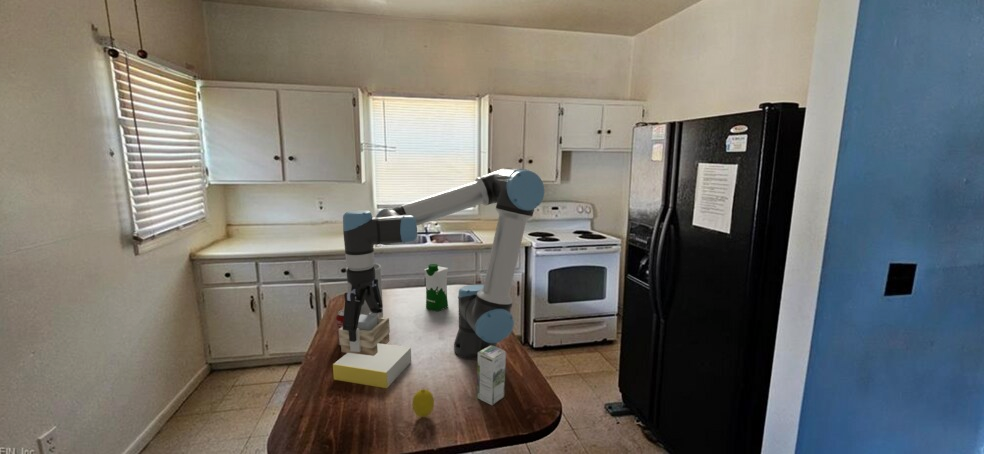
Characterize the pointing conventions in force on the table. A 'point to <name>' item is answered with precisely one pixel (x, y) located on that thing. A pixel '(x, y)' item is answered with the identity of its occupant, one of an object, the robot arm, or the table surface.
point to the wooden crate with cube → (367, 338)
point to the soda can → (339, 322)
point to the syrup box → (491, 374)
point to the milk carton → (436, 287)
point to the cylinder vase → (365, 308)
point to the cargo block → (367, 322)
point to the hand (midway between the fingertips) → (365, 342)
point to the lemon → (423, 403)
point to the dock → (373, 366)
